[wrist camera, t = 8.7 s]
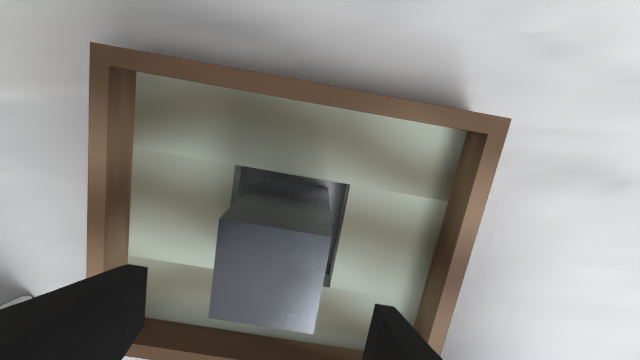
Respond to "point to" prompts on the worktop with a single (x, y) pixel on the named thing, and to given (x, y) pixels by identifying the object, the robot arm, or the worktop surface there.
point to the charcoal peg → (272, 256)
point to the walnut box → (285, 157)
